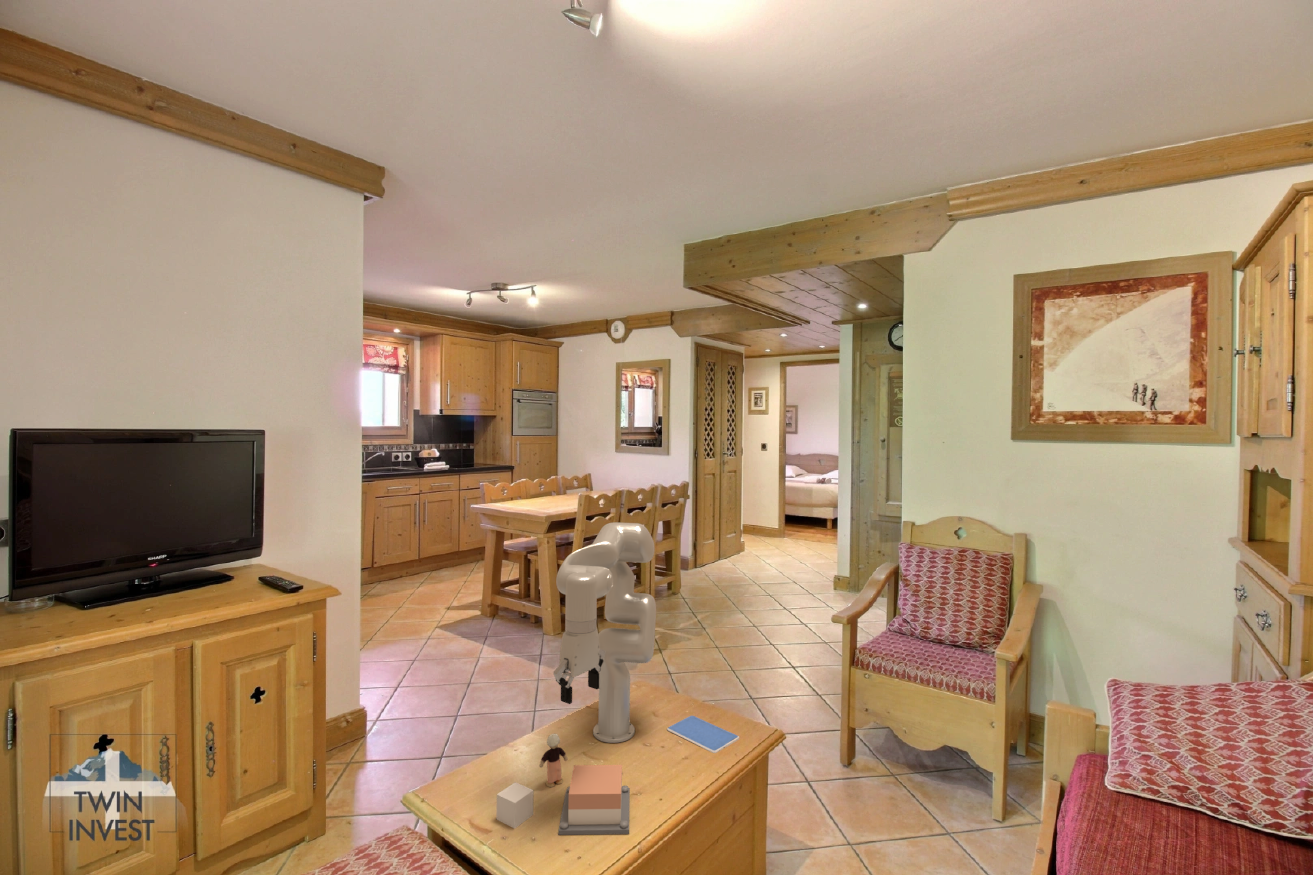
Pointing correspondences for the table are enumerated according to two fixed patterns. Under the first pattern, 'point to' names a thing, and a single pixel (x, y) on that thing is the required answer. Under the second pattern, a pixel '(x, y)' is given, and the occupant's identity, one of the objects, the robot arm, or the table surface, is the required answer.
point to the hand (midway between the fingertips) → (580, 694)
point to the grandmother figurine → (553, 760)
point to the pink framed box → (595, 802)
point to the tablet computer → (703, 734)
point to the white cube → (514, 805)
